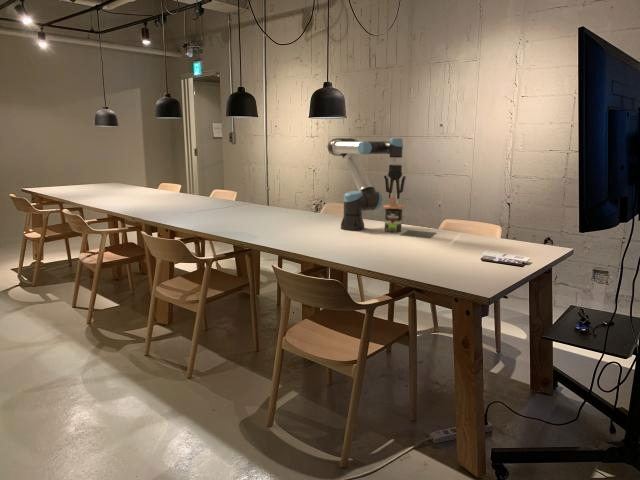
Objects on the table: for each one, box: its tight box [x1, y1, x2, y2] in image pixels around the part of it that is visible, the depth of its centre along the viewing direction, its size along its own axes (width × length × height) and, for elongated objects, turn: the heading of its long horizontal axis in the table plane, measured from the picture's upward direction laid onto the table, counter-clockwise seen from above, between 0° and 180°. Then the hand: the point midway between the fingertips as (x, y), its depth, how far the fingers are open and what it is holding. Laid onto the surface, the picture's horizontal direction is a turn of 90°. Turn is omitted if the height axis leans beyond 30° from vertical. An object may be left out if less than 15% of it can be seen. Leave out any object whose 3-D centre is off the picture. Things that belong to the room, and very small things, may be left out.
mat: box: [400, 229, 437, 239], centre depth 284 cm, size 18×18×1 cm
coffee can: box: [384, 208, 403, 234], centre depth 289 cm, size 10×10×14 cm
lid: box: [382, 196, 406, 210], centre depth 286 cm, size 13×13×6 cm
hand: (394, 203), depth 287 cm, fingers closed on lid, 2 cm apart
